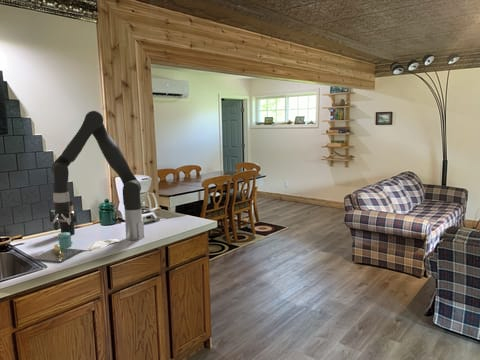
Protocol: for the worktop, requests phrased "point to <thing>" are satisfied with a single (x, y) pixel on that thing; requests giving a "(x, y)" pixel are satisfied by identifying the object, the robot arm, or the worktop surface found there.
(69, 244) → the teal cap
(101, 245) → the cloth
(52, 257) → the plate
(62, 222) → the travel mug
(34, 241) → the worktop surface
